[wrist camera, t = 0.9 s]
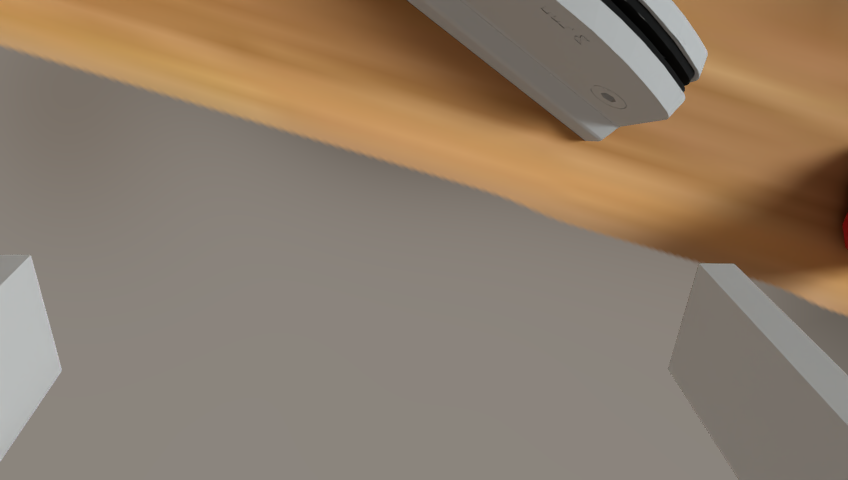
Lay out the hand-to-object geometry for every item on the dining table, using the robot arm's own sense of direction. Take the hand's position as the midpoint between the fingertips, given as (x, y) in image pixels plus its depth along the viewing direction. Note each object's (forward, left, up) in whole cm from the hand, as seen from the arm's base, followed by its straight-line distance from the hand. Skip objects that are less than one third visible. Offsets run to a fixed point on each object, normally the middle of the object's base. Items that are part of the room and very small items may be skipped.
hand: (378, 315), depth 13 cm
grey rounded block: (-4, +9, -27) cm, 28 cm away
